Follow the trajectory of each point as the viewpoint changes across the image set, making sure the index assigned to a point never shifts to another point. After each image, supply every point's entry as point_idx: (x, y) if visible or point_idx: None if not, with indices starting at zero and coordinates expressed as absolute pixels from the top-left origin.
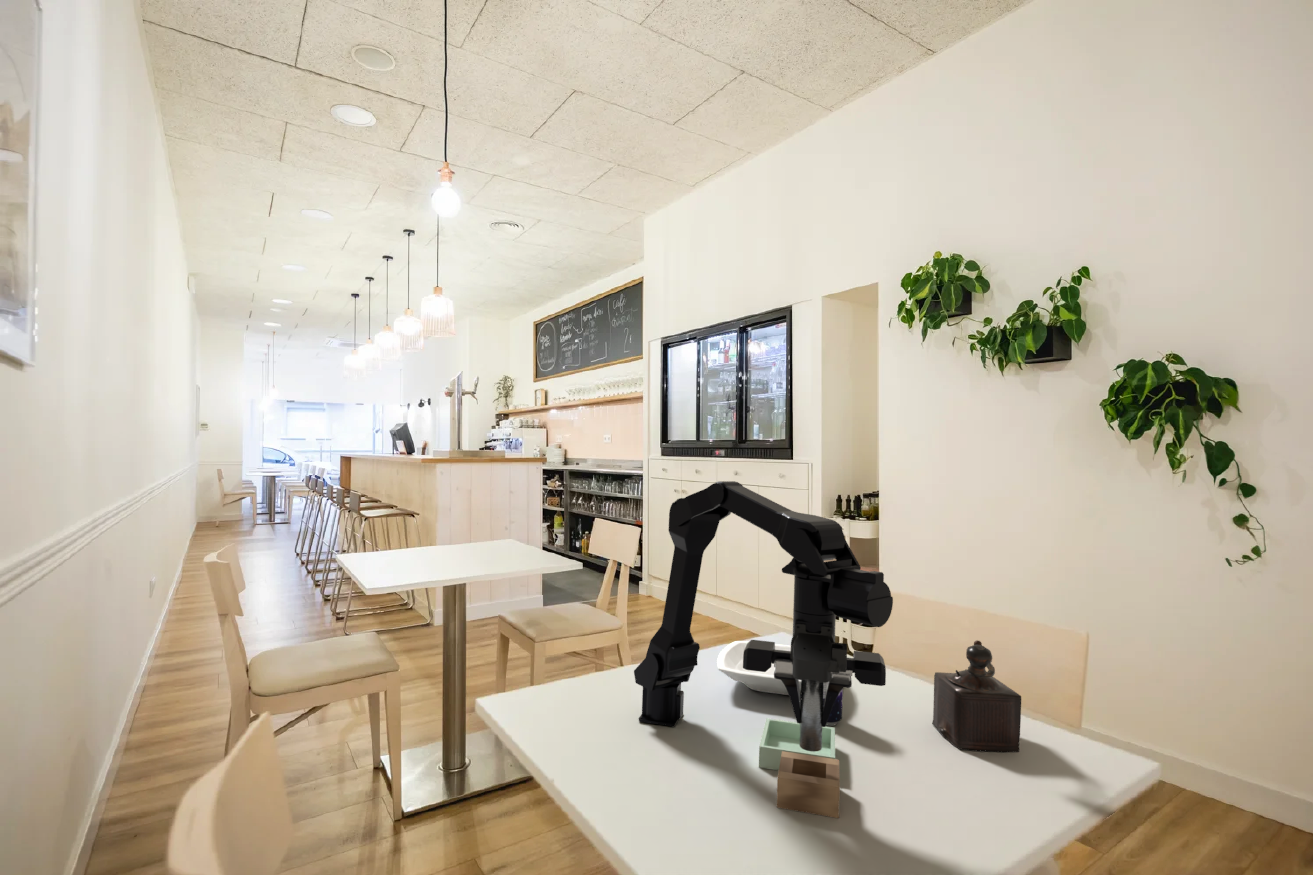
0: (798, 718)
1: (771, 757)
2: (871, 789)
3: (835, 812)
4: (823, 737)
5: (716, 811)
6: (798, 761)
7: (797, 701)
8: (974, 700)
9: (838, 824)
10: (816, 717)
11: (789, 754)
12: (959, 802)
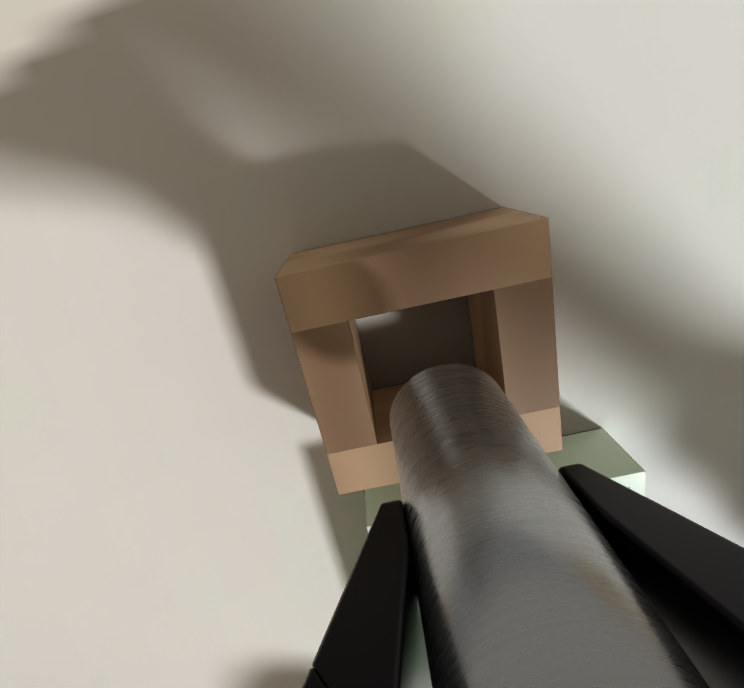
0: (588, 481)
1: (580, 459)
2: (249, 476)
3: (301, 254)
4: None
5: (713, 50)
6: None
7: (711, 587)
8: None
9: (282, 213)
10: (452, 506)
11: None
12: (9, 531)
